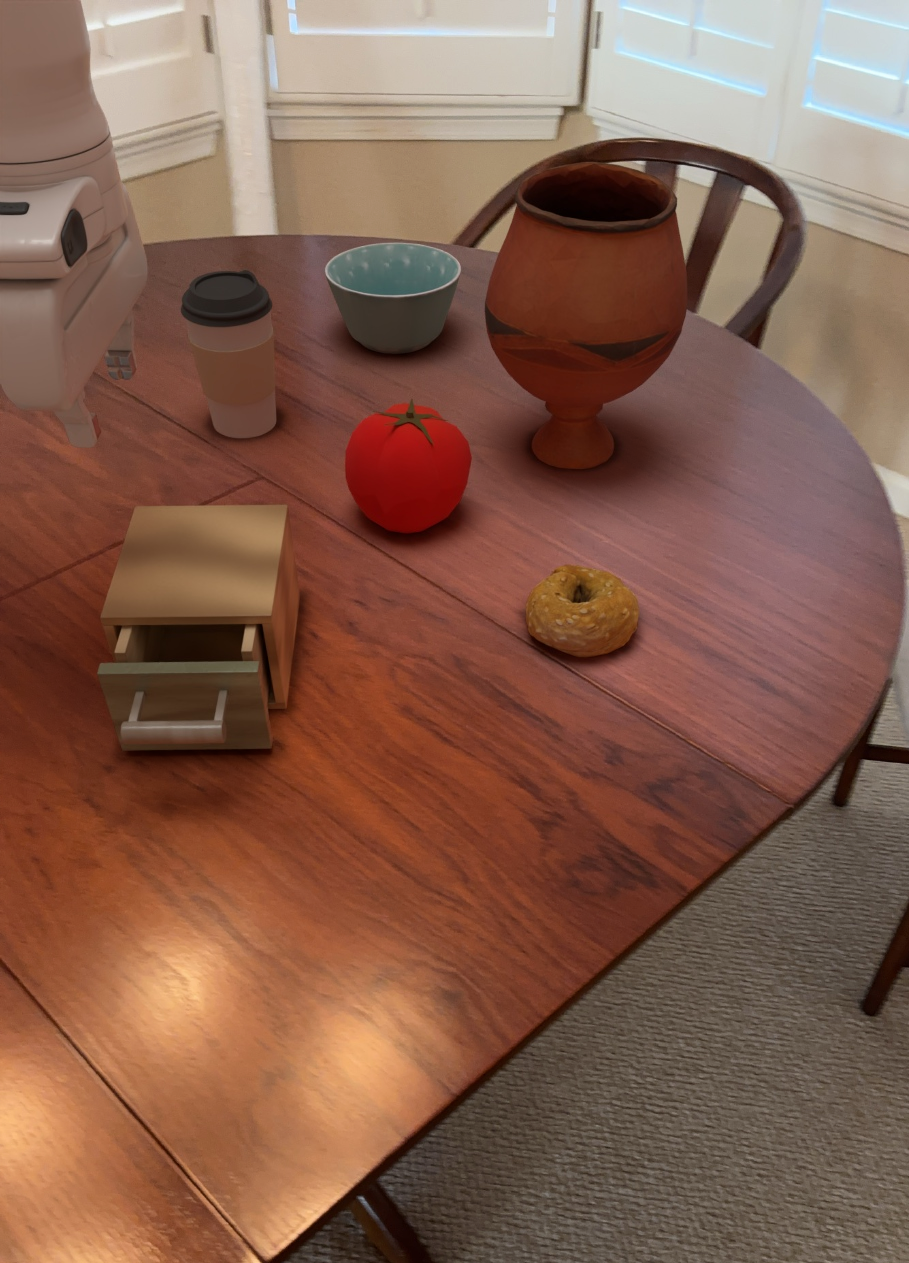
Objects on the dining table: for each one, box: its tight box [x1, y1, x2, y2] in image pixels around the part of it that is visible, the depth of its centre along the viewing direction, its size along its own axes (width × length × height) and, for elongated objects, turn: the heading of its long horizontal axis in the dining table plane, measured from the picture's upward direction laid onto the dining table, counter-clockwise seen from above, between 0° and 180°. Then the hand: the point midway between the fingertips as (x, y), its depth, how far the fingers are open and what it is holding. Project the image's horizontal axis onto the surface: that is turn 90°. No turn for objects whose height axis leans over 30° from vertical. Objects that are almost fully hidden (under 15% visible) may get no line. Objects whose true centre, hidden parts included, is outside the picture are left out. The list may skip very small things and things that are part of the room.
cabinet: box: [99, 504, 301, 710], centre depth 87 cm, size 15×13×10 cm
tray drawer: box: [96, 624, 274, 751], centre depth 81 cm, size 18×11×8 cm, turn 1°
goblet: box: [484, 161, 688, 470], centre depth 103 cm, size 19×19×25 cm
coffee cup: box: [180, 269, 277, 439], centre depth 110 cm, size 9×9×15 cm
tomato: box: [344, 397, 473, 534], centre depth 100 cm, size 12×12×11 cm
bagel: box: [525, 564, 640, 658], centre depth 91 cm, size 10×11×5 cm
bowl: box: [324, 242, 462, 355], centre depth 126 cm, size 16×16×8 cm
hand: (106, 407), depth 75 cm, fingers open, 8 cm apart
